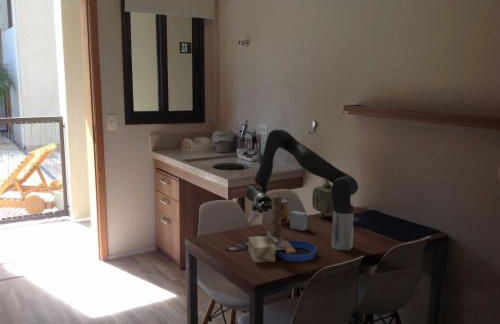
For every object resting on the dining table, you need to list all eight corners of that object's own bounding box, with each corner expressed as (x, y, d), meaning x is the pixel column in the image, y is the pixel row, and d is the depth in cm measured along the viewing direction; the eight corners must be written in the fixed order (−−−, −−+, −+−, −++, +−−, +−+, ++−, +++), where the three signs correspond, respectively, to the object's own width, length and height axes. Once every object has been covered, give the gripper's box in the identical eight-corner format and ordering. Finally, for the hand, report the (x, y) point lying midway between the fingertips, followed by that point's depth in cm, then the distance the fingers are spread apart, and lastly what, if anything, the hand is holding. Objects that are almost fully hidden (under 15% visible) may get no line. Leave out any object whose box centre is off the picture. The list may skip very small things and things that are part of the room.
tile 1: (286, 253, 191) (286, 251, 191) (284, 249, 195) (284, 247, 195) (295, 252, 192) (295, 250, 192) (293, 249, 196) (293, 247, 196)
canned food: (276, 224, 242) (276, 202, 241) (270, 220, 250) (270, 199, 248) (289, 223, 245) (290, 201, 243) (283, 219, 253) (283, 198, 251)
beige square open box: (254, 262, 189) (254, 247, 188) (248, 250, 202) (248, 236, 201) (286, 260, 191) (287, 246, 190) (278, 249, 205) (278, 235, 204)
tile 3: (281, 246, 200) (281, 244, 200) (279, 243, 204) (279, 241, 203) (290, 245, 200) (290, 243, 200) (287, 242, 204) (287, 240, 204)
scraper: (275, 247, 189) (276, 200, 186) (267, 235, 203) (268, 192, 200) (284, 246, 190) (286, 200, 186) (275, 235, 204) (277, 192, 201)
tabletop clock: (339, 219, 254) (341, 176, 250) (327, 221, 249) (329, 177, 245) (322, 213, 266) (324, 171, 262) (310, 215, 261) (312, 173, 257)
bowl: (300, 245, 211) (301, 238, 211) (324, 258, 196) (324, 250, 195) (267, 251, 203) (267, 244, 202) (289, 265, 187) (289, 257, 187)
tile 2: (283, 249, 196) (283, 247, 195) (281, 246, 199) (281, 244, 199) (292, 249, 196) (292, 247, 196) (289, 246, 200) (289, 244, 200)
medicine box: (306, 229, 236) (307, 213, 234) (303, 231, 232) (303, 214, 231) (293, 226, 240) (294, 210, 239) (289, 228, 236) (290, 212, 235)
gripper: (248, 194, 215) (255, 203, 199) (277, 194, 218) (286, 202, 202) (248, 209, 216) (255, 219, 201) (277, 209, 219) (285, 218, 203)
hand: (270, 210), depth 201 cm, fingers open, 8 cm apart
